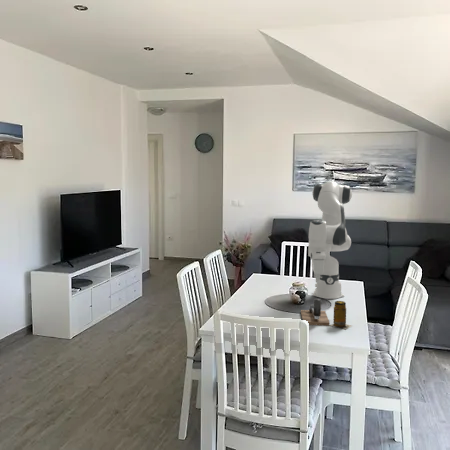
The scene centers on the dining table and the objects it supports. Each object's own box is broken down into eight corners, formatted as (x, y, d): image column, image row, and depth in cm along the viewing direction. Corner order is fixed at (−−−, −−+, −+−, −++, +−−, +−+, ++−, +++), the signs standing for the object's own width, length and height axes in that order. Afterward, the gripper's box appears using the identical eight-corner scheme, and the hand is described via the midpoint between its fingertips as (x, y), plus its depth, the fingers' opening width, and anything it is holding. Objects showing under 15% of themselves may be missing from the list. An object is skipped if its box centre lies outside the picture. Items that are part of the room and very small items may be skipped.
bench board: (300, 312, 248) (300, 310, 248) (325, 313, 247) (325, 310, 247) (303, 324, 228) (303, 321, 228) (329, 325, 227) (329, 322, 227)
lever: (308, 309, 247) (309, 290, 245) (317, 310, 246) (317, 291, 245) (313, 321, 228) (313, 300, 227) (321, 321, 227) (322, 300, 226)
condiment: (336, 322, 232) (337, 299, 231) (352, 326, 227) (353, 302, 225) (329, 325, 227) (330, 302, 225) (345, 329, 221) (346, 305, 220)
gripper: (309, 249, 236) (308, 275, 238) (312, 256, 216) (311, 284, 218) (321, 249, 235) (321, 275, 237) (326, 256, 215) (325, 285, 217)
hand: (316, 280), depth 227 cm, fingers open, 8 cm apart
